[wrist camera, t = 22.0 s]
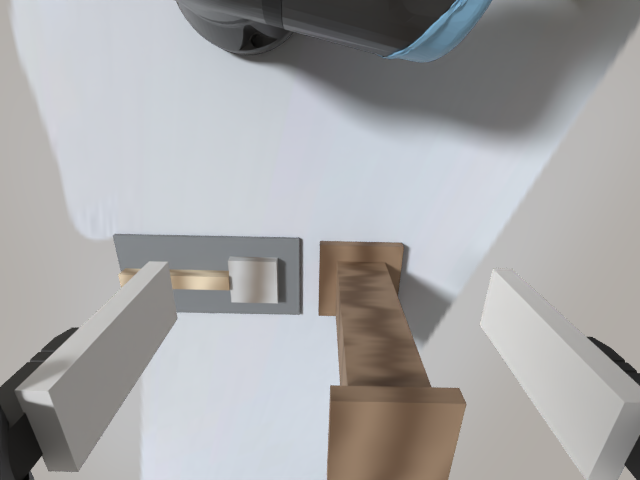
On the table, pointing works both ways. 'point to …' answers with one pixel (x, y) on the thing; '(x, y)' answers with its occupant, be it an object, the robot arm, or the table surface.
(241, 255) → the mat
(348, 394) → the pedestal
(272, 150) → the table surface
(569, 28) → the table surface
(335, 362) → the table surface
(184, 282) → the bar
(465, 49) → the table surface
